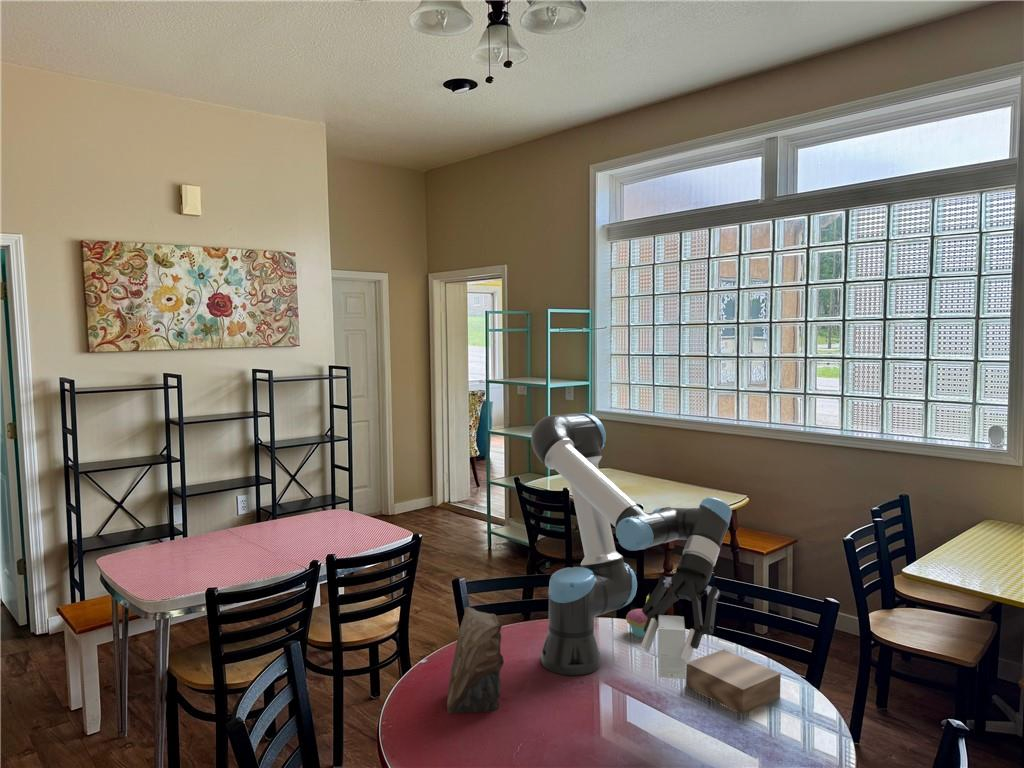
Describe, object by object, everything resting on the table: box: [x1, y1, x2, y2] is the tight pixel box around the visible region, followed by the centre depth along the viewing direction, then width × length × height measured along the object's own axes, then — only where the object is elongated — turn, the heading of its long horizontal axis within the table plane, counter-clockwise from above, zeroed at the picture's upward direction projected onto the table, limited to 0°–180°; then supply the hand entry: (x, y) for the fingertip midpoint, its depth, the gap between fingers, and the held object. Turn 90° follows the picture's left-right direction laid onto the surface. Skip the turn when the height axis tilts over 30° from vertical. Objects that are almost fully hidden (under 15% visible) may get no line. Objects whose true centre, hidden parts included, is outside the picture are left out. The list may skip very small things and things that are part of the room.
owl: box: [446, 606, 505, 715], centre depth 157 cm, size 13×13×20 cm
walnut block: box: [685, 648, 782, 716], centre depth 163 cm, size 16×14×6 cm
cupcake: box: [625, 593, 650, 638], centre depth 196 cm, size 9×8×12 cm
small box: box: [657, 614, 686, 680], centre depth 147 cm, size 8×6×10 cm
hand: (664, 654), depth 144 cm, fingers closed on small box, 8 cm apart
